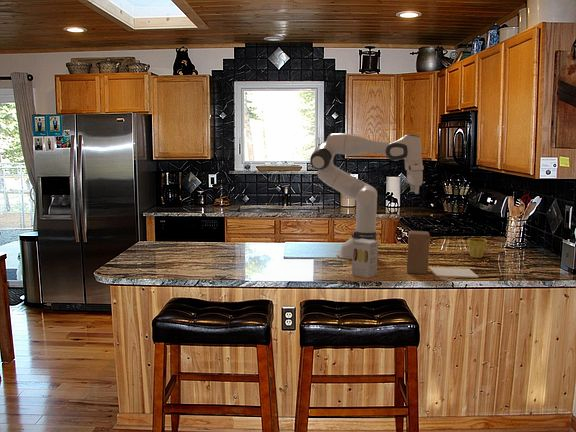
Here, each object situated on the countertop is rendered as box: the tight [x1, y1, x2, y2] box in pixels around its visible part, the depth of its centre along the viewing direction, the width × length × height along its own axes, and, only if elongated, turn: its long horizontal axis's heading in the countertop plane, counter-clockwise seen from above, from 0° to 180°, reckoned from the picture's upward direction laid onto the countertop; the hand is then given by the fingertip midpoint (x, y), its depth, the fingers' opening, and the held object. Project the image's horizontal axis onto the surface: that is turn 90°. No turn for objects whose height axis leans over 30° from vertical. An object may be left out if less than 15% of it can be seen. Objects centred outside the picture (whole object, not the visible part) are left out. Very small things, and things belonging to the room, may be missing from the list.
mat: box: [429, 267, 479, 279], centre depth 283 cm, size 20×16×1 cm
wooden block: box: [406, 230, 431, 276], centre depth 282 cm, size 10×10×20 cm
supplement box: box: [351, 239, 379, 279], centre depth 274 cm, size 10×9×17 cm
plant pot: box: [467, 237, 488, 259], centre depth 322 cm, size 10×10×10 cm
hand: (414, 192), depth 294 cm, fingers open, 8 cm apart
